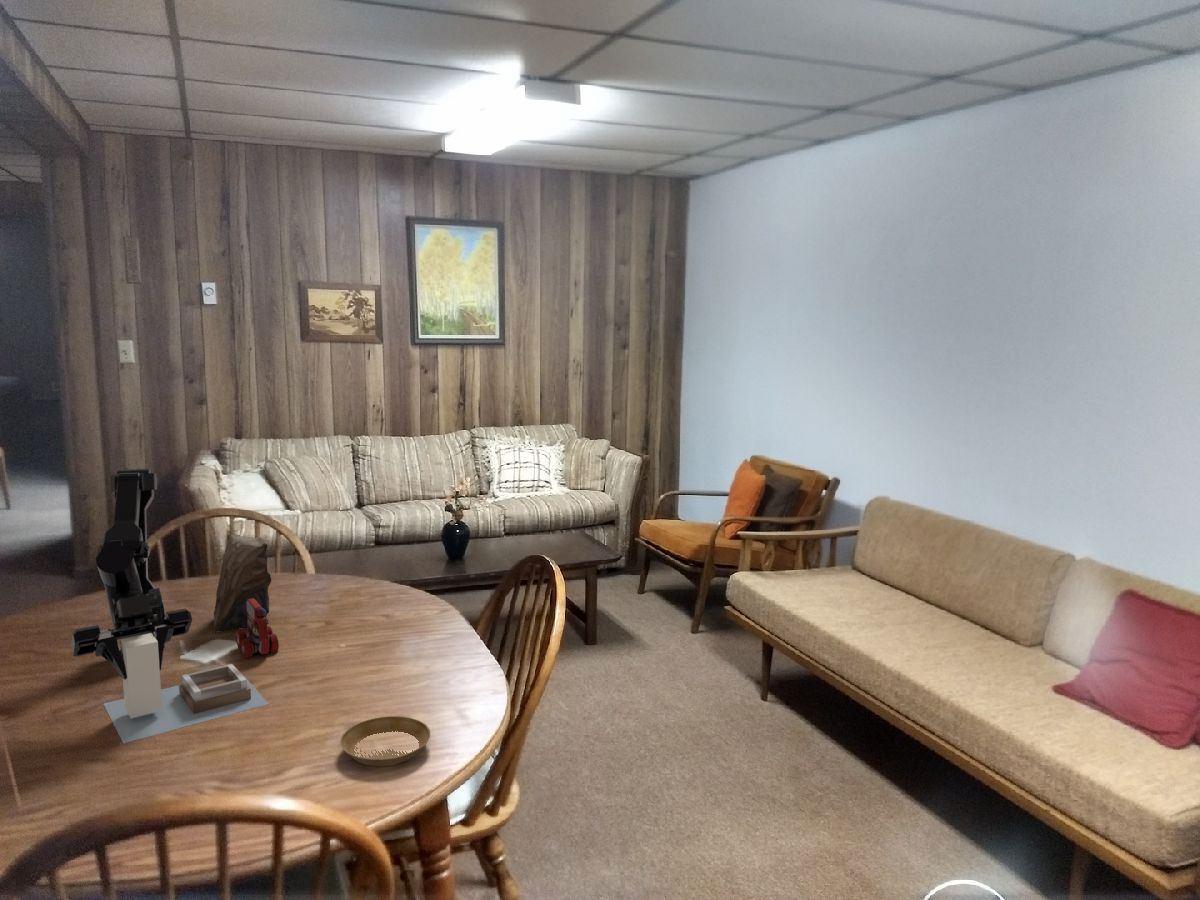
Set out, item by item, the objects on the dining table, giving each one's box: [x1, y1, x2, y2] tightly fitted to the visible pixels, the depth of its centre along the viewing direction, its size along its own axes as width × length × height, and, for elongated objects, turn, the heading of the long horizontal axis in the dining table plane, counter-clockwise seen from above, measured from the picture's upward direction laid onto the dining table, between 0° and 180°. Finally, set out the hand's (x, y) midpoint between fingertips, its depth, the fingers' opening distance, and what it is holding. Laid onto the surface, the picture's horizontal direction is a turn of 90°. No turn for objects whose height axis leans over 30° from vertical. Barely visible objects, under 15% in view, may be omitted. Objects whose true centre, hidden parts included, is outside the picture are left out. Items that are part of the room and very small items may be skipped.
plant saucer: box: [339, 715, 431, 767], centre depth 141 cm, size 15×15×3 cm
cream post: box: [119, 633, 162, 718], centre depth 149 cm, size 5×5×13 cm
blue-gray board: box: [103, 670, 270, 745], centre depth 154 cm, size 18×24×1 cm
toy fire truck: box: [235, 598, 280, 659], centre depth 179 cm, size 7×12×10 cm, turn 35°
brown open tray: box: [178, 663, 251, 714], centre depth 157 cm, size 10×10×4 cm
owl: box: [213, 533, 272, 633], centre depth 195 cm, size 13×13×20 cm
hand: (142, 674), depth 147 cm, fingers closed on cream post, 5 cm apart
